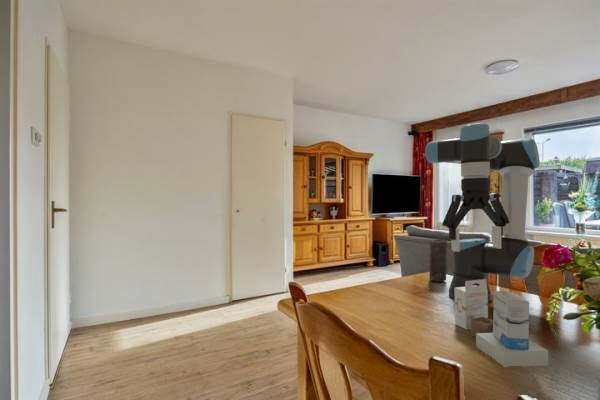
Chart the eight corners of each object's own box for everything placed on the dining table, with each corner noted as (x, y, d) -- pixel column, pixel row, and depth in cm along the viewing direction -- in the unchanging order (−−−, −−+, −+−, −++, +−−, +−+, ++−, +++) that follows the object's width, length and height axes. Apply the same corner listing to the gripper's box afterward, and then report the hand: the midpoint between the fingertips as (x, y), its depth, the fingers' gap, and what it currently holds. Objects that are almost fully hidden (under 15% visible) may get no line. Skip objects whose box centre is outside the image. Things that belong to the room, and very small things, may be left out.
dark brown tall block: (450, 282, 156) (449, 239, 156) (439, 284, 152) (439, 240, 152) (436, 278, 162) (435, 238, 162) (426, 280, 159) (425, 239, 158)
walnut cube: (483, 333, 97) (483, 316, 97) (499, 340, 93) (499, 322, 93) (470, 336, 95) (470, 319, 95) (486, 343, 91) (486, 325, 91)
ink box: (529, 350, 79) (530, 301, 78) (507, 348, 79) (507, 299, 79) (512, 335, 87) (512, 291, 87) (492, 334, 88) (492, 290, 88)
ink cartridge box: (475, 321, 107) (475, 275, 107) (488, 326, 102) (488, 279, 102) (453, 324, 104) (453, 277, 104) (465, 330, 100) (465, 281, 99)
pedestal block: (515, 346, 90) (515, 331, 89) (548, 367, 79) (548, 350, 78) (476, 348, 89) (475, 333, 89) (504, 369, 78) (503, 352, 78)
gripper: (502, 177, 103) (503, 244, 104) (429, 179, 99) (430, 249, 99) (522, 175, 95) (523, 248, 96) (444, 178, 91) (445, 254, 92)
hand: (476, 249), depth 98 cm, fingers open, 13 cm apart
